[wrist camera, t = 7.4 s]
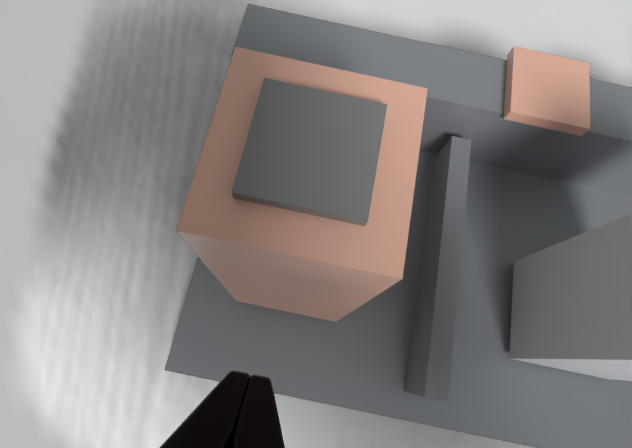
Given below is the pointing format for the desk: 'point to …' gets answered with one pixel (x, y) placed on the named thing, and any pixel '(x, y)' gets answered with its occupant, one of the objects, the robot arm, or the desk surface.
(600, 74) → the desk surface
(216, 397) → the robot arm
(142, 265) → the desk surface
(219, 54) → the desk surface
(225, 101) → the peach tall block
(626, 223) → the grey block
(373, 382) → the block sorting stand
